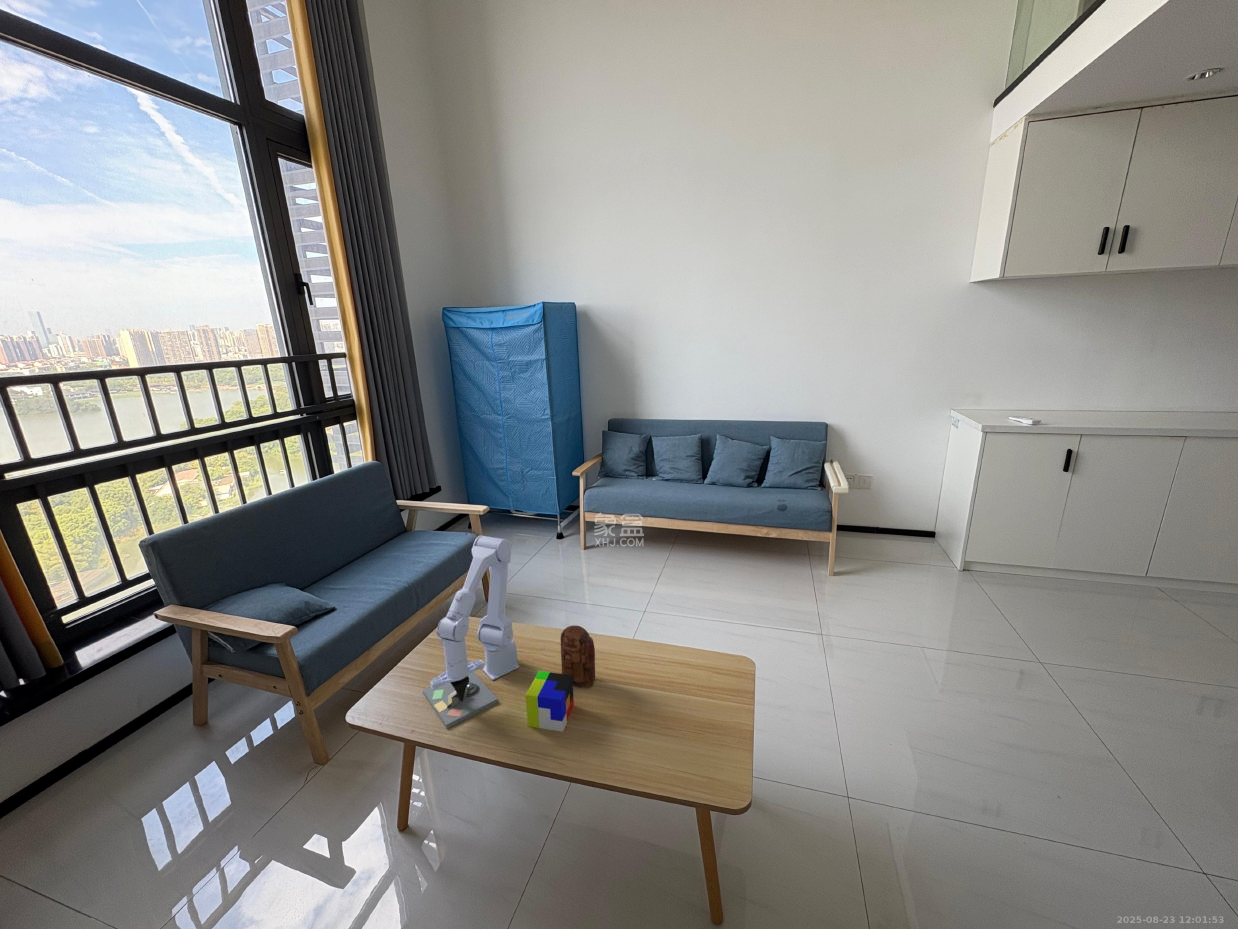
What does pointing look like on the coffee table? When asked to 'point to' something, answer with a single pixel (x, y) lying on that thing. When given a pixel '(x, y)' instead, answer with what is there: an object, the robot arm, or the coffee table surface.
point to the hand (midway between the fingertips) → (460, 699)
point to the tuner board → (461, 709)
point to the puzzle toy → (550, 701)
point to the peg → (469, 690)
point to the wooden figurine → (578, 656)
